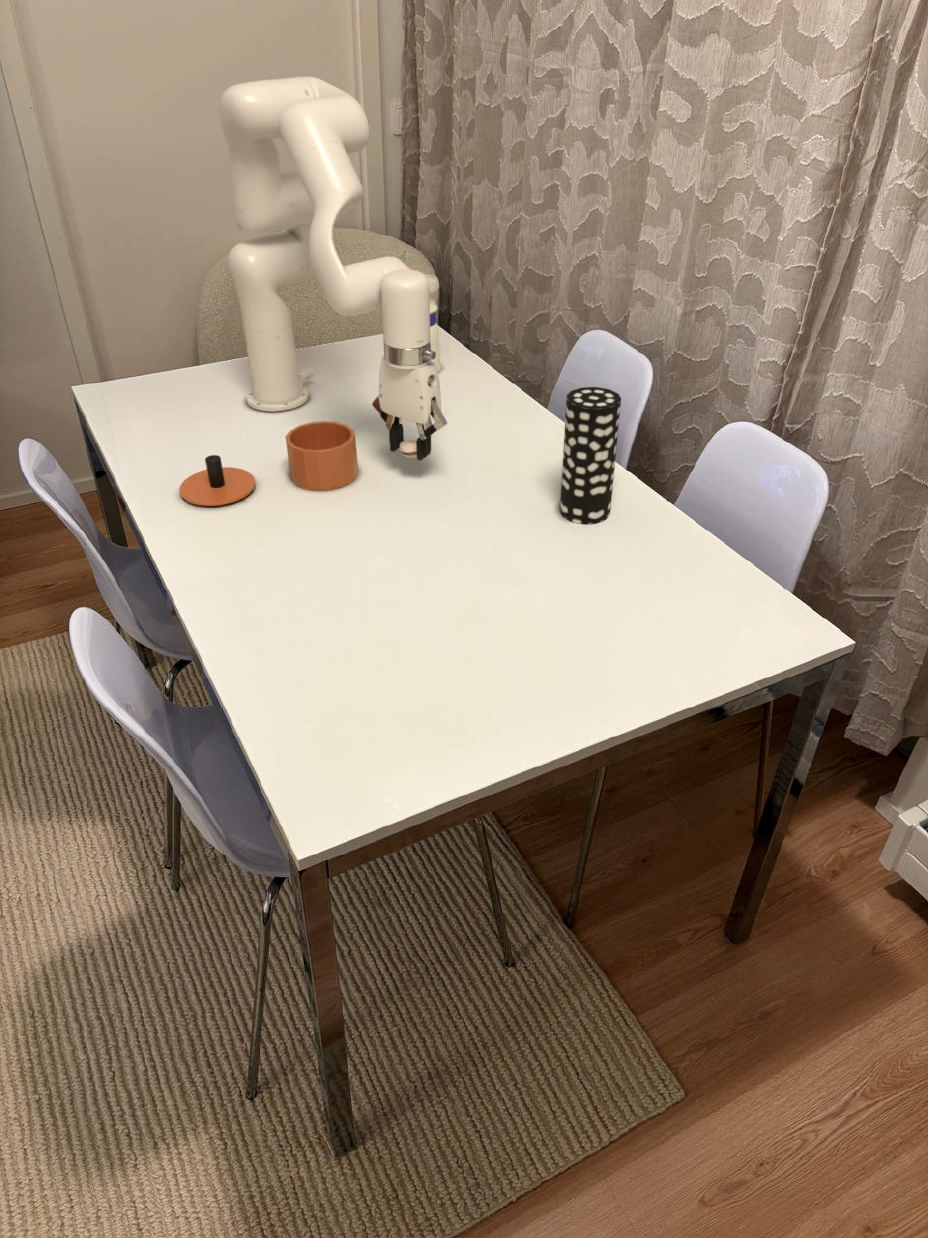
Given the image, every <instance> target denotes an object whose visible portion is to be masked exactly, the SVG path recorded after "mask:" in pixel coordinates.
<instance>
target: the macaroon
mask: <svg viewBox="0 0 928 1238" xmlns="http://www.w3.org/2000/svg"><path fill="white" fill-rule="evenodd" d="M416 441H417V440H414V439H411V440H404V441H403V442H401V443H400V448H399V452H400V453H401V455H402V456H403V457H406V458H409V459H415V458H417V443H416Z"/></svg>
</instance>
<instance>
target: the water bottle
mask: <svg viewBox="0 0 928 1238" xmlns="http://www.w3.org/2000/svg"><path fill="white" fill-rule="evenodd" d="M408 253H409V251H406V249H405V247H402V252H401V253H400V254H399V255H398V257H399V259H400V260H401V261H402V262H403V263H407V255H408ZM423 274H424V275H426V277H427V278H428V280H429V287H430V343H431V350H432V351H434V352H436V357H435V359H434V361H435V363H436V367H437V371H438V373H439V372H440V371H441V370H442V365H441V355H440V353H441V351H440V335H439V326H438V323H437V311H438V307H439V306H438V305H437V304H436V301H435V293H436V292H435V291H438V290H439V288H440V282H439V279H438V277H437V276H435V275H433V274H428V273H427V274H426V273H423Z"/></svg>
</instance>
